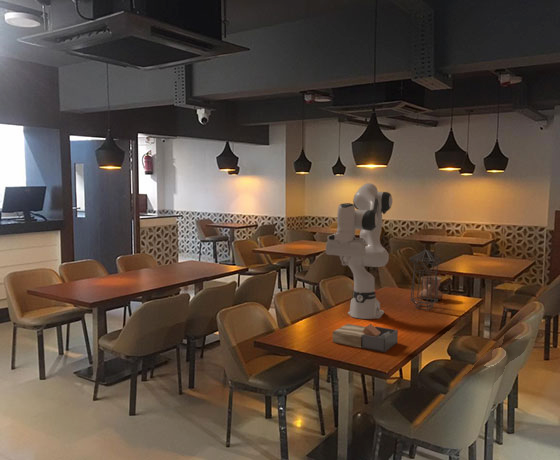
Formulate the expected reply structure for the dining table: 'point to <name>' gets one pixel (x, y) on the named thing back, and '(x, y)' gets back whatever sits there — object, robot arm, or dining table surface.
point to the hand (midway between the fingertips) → (345, 265)
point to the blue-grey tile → (385, 335)
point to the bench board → (349, 335)
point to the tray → (380, 340)
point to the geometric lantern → (427, 277)
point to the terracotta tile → (371, 331)
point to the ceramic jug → (424, 292)
